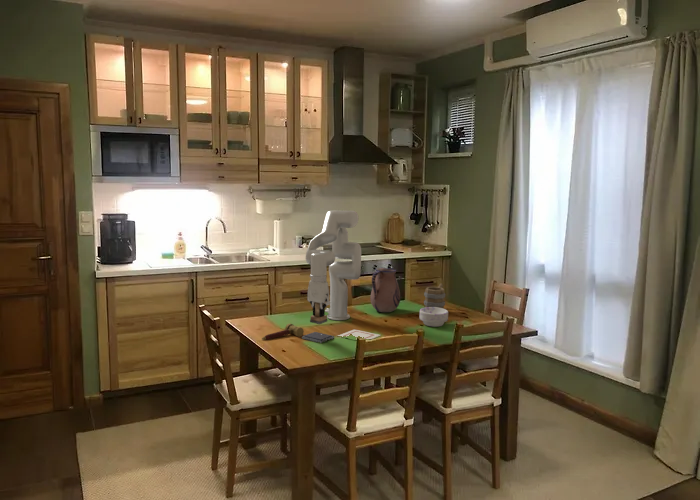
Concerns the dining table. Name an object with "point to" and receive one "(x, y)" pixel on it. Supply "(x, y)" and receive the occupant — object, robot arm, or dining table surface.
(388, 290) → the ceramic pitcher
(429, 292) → the tankard
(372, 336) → the paper sheet
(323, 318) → the stamp
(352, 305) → the dining table surface
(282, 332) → the gavel
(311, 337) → the ink pad
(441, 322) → the paper bowls
